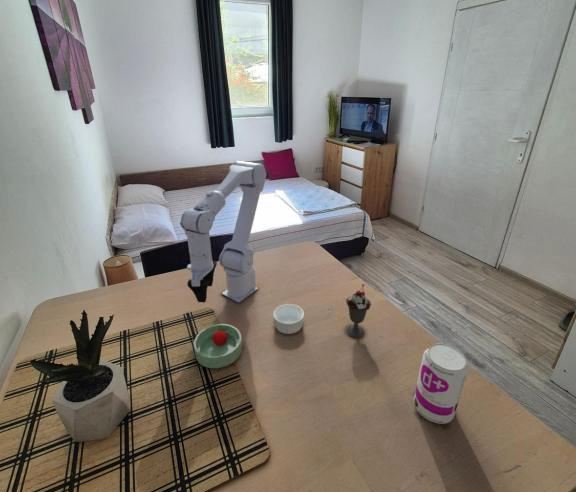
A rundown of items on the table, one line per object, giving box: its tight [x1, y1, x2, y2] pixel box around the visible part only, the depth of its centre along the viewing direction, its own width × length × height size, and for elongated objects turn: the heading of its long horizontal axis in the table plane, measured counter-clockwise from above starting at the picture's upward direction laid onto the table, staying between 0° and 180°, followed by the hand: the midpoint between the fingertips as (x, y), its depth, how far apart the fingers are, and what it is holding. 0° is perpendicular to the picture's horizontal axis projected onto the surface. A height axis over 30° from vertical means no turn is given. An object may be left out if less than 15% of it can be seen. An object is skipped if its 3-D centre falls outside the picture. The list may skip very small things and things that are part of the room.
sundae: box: [345, 283, 372, 339], centre depth 90 cm, size 7×7×15 cm
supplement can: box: [413, 342, 469, 425], centre depth 68 cm, size 8×8×15 cm
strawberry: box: [213, 329, 227, 346], centre depth 87 cm, size 4×4×4 cm
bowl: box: [193, 323, 243, 369], centre depth 85 cm, size 12×12×4 cm
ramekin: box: [272, 303, 305, 335], centre depth 94 cm, size 9×9×4 cm
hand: (205, 293), depth 94 cm, fingers open, 7 cm apart
